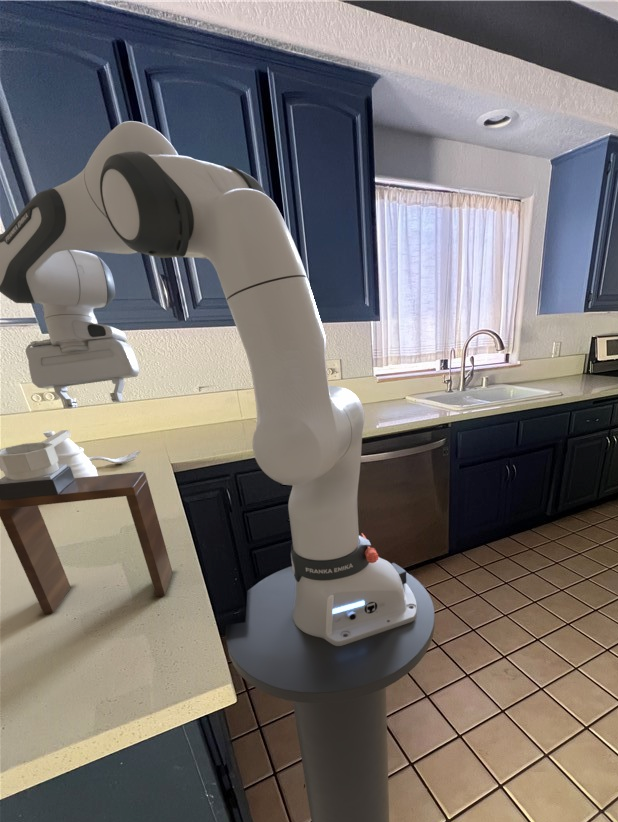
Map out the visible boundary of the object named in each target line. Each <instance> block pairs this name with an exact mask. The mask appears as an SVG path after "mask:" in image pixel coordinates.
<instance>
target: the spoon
mask: <svg viewBox="0 0 618 822" xmlns="http://www.w3.org/2000/svg"><path fill="white" fill-rule="evenodd" d="M140 453H141V451H140V450H136V451H134V452H132V453H130V454H127V455H124V456H120V457H117V458H109V457H104V456H89V457H88V456H87V457H88V458H89V461H91V462H92V461H105V462H108V463H112V464H115V465H117V464H118V465H121V464H122V465H123V464H126V463H127V464H128V463H129V462H132V461H134V460H136V458H137V457H138V456H139V454H140Z"/></svg>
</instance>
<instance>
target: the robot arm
mask: <svg viewBox="0 0 618 822" xmlns="http://www.w3.org/2000/svg"><path fill="white" fill-rule="evenodd" d="M88 251H89V252H88ZM92 252H100V253H108V254H117V255H133V254H137V253H140V254H143V255H147V256H150V257H155V258H161V259H169V258H193V259H195V258H196V259H197V258H198V259H202V260H208V261H209V262H210V263H211V264H212V266H213V268H214V270H215V272H216V275H217V278H218V281H219V283H220V286H221V289H222V293H223V294H224V297H225V300H226V303H227V306H228V308H229V310H230V314H231V316H232V318H233V321H234V324H235V326H236V327H235V328H236V330H237V332H238V335H239V338H240V341H241V343H242V346H243V348H244V352H245V354H246V357H247V362H248V364H249V365H248V366H249V369H250V373H251V380H252V387H253V392H254V394H253V395H254V401H255V411H256V412H255V413H256V423H255V429H254V432H253V435H252V446H251V447H252V452H253V456H254V459H255V461H256V463H257V466H258V467H259V468H260V470H261V471H262V472H263V473H264V474H265V475H266V476H267V477H269V478H270V479H271V480H273V481H275V482H277V483H279V484H282V485H284V486H285V485H286V486H292V487H291V491H290V494H289V496H288V505H287V509H288V518H289V524H290V533H291V540H292V543H291V546H290V560H291V566H292V568H293V574H294V576H295V579H296V597H295V605H294V609H293V621H294V623H295V625H296V626H297V627H298V628H299V629H300V630H302V631H303V632H305V633H307V634H309V635H312V636H316V637H320V638H323V639H325V640H327V641H328V642H329V643H331V644H333V645H335V646H343V645H346V644H348V643H351V642H354V641H357V640H360V639H363V638H366V637H369V636H372V635H375V634H378V633H381V632H384V631H387V630H389V629H392V628H395V627H398V626H401V625H404V624H407V623H410V622H412V621H414V620H415V619H416V616H417V604H416V600H415V597H414V595H413V593H412V591H411V589H410V588H409V587H408V585H407V584H406V573H407V571H406V570H405V569H404V568H403V567H401V566H400V565H398V564H396V563H395V562H392V563H391V562H390V561H388V560H386V559H385V558H382V557H380V556H379V553H378V552H377V550H376V548H375V547H372V544H371V542H370V540H369V539H367V537H366V535H364V533H363V532H361V535H360V533H359V531H360V530H359V514H358V513H359V511H358V509H359V508H358V496H359V495H358V494H359V493H358V492H359V483H360V473H361V461H362V446H363V445H362V444H363V431H364V424H365V415H366V414H365V410H364V406H363V404H362V401H361V400H360V398H359V397H358V396H357V395H356V394H355V393H354V392H352V391H351V390H349V389H347V388H345V387H342V386H337V385H329V379H328V372H327V370H328V369H327V362H326V349H327V348H326V347H327V338H326V334H325V330H324V327H323V324H322V321H321V318H320V315H319V310H318V308H317V305H316V301H315V299H314V295H313V291H312V289H311V288H312V287H311V285H310V282H309V279H308V276H307V272H306V270H305V267H304V264H303V261H302V259H301V256H300V253H299V251H298V248H297V245H296V243H295V241H294V238H293V237H292V233H291V232H290V230H289V228H288V226H287V223H286V221H285V220H284V217H283V216H282V213H281V212H280V210H279V208H278V206H277V204H276V203H275V201H274V200H272V198H271V197H269V196H268V195H267V194H266V191H265V190H264V188H263V186H262V185H261V184H260V183H259V181H258V180H257V179H256V178H254V177H253V176H252V175H250V174H249V173H247V172H245V171H243V170H241V169H239V168H237V167H234V166H231V165H219V164H216V163H212V162H209V161H205V160H199V159H195V158H193V157H191V156H188V155H179V153H178V151H177V150H176V148H175V147H174V145H172V143H171V142H170V141H169V140H168V139H167V138H166V137H165V136H164V135H163V134H162V133H161V132H160V131H159V130H157V129H155V128H154V127H153V126H151V125H148V124H146V123H145V122H140V121H136V120H135V121H134V120H129V121H124V122H121V123H119V124H118V125H116V126H115V127H114V128H113V129H111V130H110V132H108V134H106V136H105V137H104V138H103V139H101V141H100V142H99V144H98V145H97V146H96V148H95V149H94V151H93V152H92V154H91V156H90V157H89V159H88V161H87V163H86V164H85V167H84V168H83V170H82V171H80V172H79V173H78V174H77V175H75V176H74V177H72V178H70V179H69V180H68V181H66V182H64V183H61V184H59V185H57V186H55V187H52V188H51V187H50V188H48V189H45V190H41V191H39V192H37V194H35V195H34V196H33V197H32V198H31V199H30V200H29V202H27V204H26V205H25V206H24V208H23V209H22V210H21V211H20V212H19V214H18V215H17V216H16V217H15V218H14V220H13V221H12V222H11V223H10V224H9V225H8V226H7V228H6V229H5V230H4V232H3V233H0V293H1V294H2V295H3V296H5V297H6V298H8V299H9V300H10V301H12V302H14V303H16V304H32V305H33V304H41V305H42V308H43V318H44V322H45V326H46V329H47V333H48V336H49V338H48V339H41V340H33V341H31V342H30V343H29V344H28V345H27V346H26V348H25V355H26V358H27V360H28V361H27V362H28V370H29V375H30V380H31V382H32V383H33V385H34V386H35V387H37V388H39V389H44V390H45V389H46V390H49V389H53V390H54V393H55V394H56V395H58V396H59V397H60V398H61V400H62V401H63V403H64V407H65V408H66V409H76V408H77V409H78V404H77V399H76V398H71V397H70V396H69V394H68V393H67V392H69V390H68V387H73V386H79V385H86V384H87V385H88V384H94V383H101V382H108V381H109V382H110V381H111V382H112V383H111V384H113V385H114V389H113V392H110V393H109V395H110V400H111V402H113V403H121V402H123V401H124V399H123V394H122V393H123V390H124V387H125V381H124V379H129V378H131V379H132V378H137V377H138V376H139V374H140V366H139V363H138V359H137V357H136V354H135V352H134V349H133V348H132V346H131V345H130V344H129V343H127V342H128V337H127V333H126V332H124V331H123V330H121V329H118V328H117V327H113V326H111V325H107V324H102V323H99V322H98V319H97V317H96V314H95V313H94V310H95V309H103V308H105V307H106V306H108V305H109V304H110V303H111V302H112V301H113V299H114V298H115V297H116V286H115V285H116V284H115V281H114V277H113V273H112V271H111V269H110V268H109V266H108V265H107V264H106V262H105V261H104V260H103V259H102V258H101V257H100V256H99V255H97V254H94V253H92Z"/></svg>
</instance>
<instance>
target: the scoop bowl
mask: <svg viewBox="0 0 618 822" xmlns="http://www.w3.org/2000/svg"><path fill="white" fill-rule="evenodd" d="M71 437H72V434H71V431H70V429H64V430H60V431H58V432H56V433H54V435H53V436H51V437H49V438H46V439H44V440H42V441H40V442H28V443H27V442H26V443H20V444H16V445H12V446H11V445H10V446H7V447H3V448H1V449H0V471H1V472H3V474H4V476H6V478H7V479H10V480H23V479H31V478H36V477H41V476H44V475H48V474H51V473H53V472H55V471H57V470H58V469H59V465H58V462H57V461H59V460H58V457H57V454H56V452H55V449H54V447H55V446H56V445H58V444H60V443H61V442H63V441H64V440H66V439H67V438H69V439H70V438H71Z"/></svg>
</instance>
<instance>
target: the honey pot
mask: <svg viewBox="0 0 618 822" xmlns="http://www.w3.org/2000/svg"><path fill="white" fill-rule="evenodd" d="M42 434H43V435H44V437H45V438H46V439H48V438H49V437H51V436H53V435H55V430H47V431H43V432H42ZM54 449H55V452H56V454H57V457H58V460H59V461H57V462H58V465H63V464H67V467H68V466H70V468H71V470H72V473H73V476H74V478H81V477H92V476H99V473H98V471H97V468H96V466H95V465H94V464H93V463H92V461H89V458H88V456H87V455H86V454H85V453H84V451H85V450H84V448H83V447H81V446H78V444H76V443H75V442H74V441H73V440H71V439H70V437H69V438H67V439H66V440H64V441H63V442H61V443H60V444H58V445H56V446H55V447H54Z"/></svg>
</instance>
